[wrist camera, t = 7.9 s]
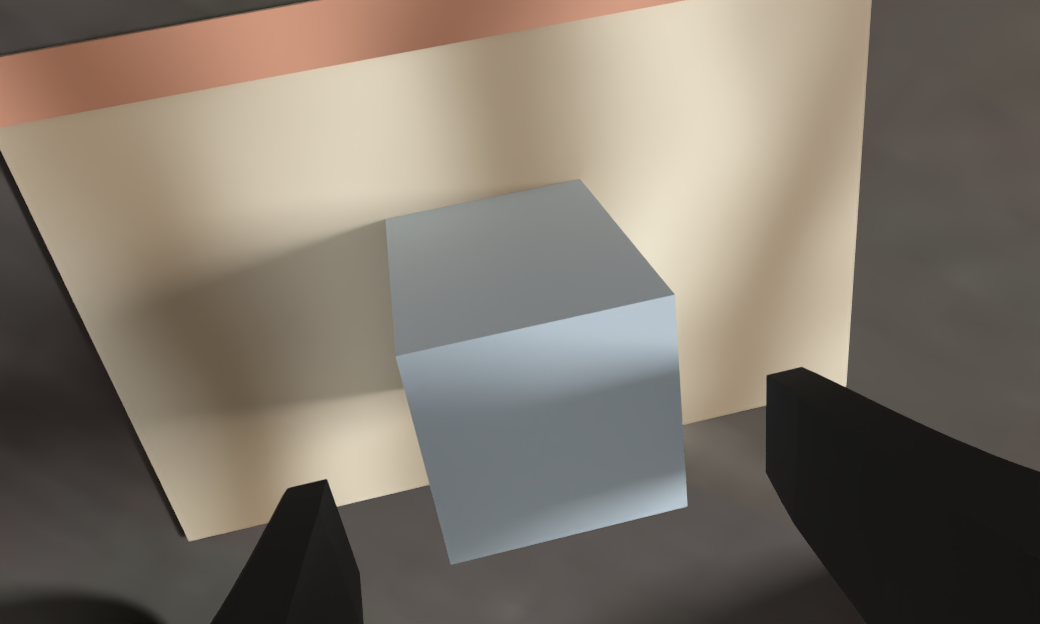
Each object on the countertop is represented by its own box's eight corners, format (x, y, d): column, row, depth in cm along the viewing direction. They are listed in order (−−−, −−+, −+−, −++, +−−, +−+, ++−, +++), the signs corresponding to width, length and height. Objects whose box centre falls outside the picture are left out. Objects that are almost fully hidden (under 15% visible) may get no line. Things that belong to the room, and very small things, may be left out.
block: (426, 384, 19) (450, 564, 14) (385, 219, 17) (395, 356, 12) (599, 345, 19) (687, 506, 14) (580, 178, 17) (674, 294, 12)
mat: (190, 536, 20) (188, 544, 20) (-36, 62, 14) (-44, 65, 14) (842, 382, 22) (848, 388, 21) (872, -100, 16) (881, -100, 16)
